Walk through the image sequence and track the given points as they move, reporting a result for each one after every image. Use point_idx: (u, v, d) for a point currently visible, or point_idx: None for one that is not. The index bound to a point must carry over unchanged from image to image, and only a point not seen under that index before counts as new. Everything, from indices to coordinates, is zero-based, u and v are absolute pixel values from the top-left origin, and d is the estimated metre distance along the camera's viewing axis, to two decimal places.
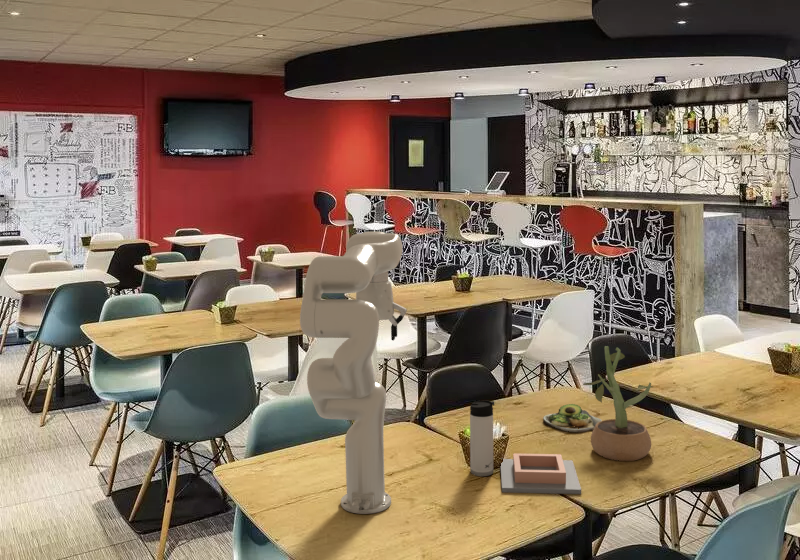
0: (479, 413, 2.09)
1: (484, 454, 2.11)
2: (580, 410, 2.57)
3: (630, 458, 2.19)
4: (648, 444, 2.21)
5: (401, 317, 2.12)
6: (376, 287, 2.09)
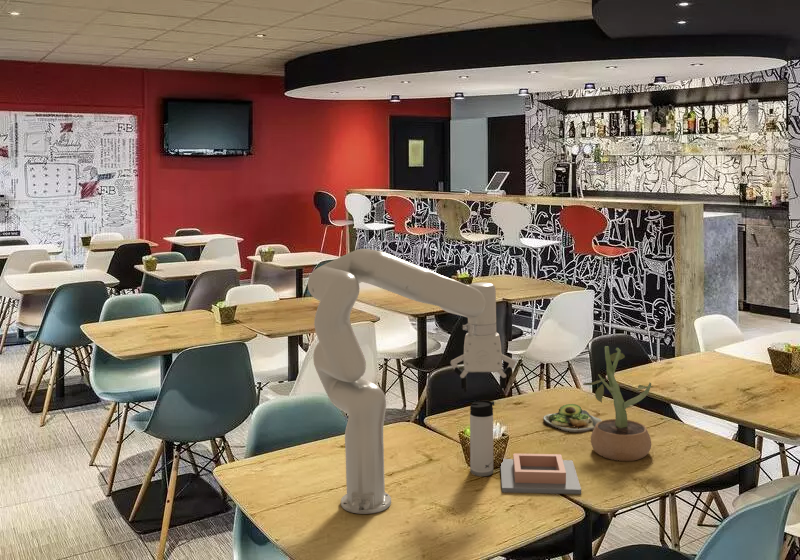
0: (479, 413, 2.09)
1: (484, 454, 2.11)
2: (580, 410, 2.57)
3: (630, 458, 2.19)
4: (648, 444, 2.21)
5: (510, 369, 2.09)
6: (485, 339, 2.06)
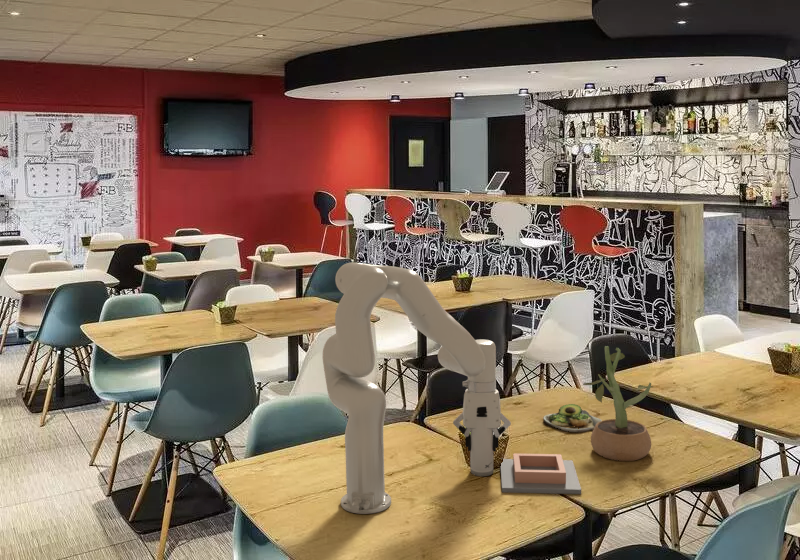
0: (479, 413, 2.09)
1: (484, 454, 2.11)
2: (580, 410, 2.57)
3: (630, 458, 2.19)
4: (648, 444, 2.21)
5: (503, 428, 2.11)
6: (484, 396, 2.09)
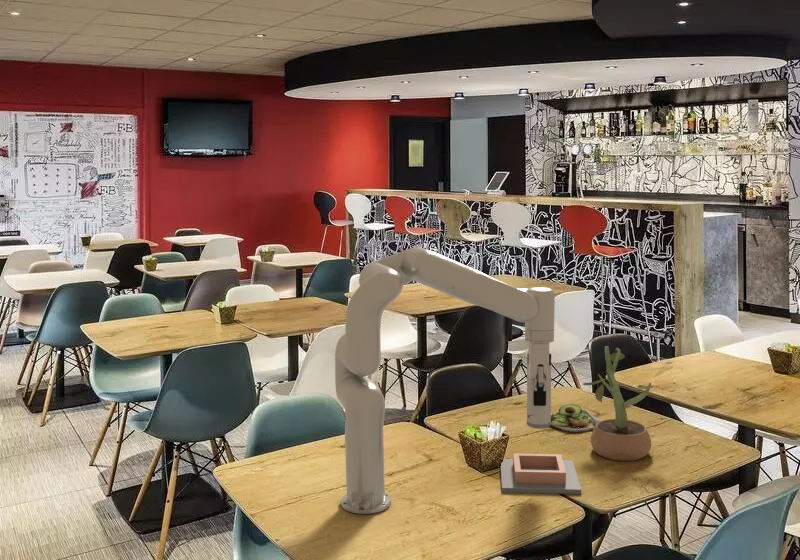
0: (527, 359, 2.06)
1: (527, 403, 2.06)
2: (580, 410, 2.57)
3: (630, 458, 2.19)
4: (648, 444, 2.21)
5: (537, 384, 2.00)
6: (529, 343, 2.04)
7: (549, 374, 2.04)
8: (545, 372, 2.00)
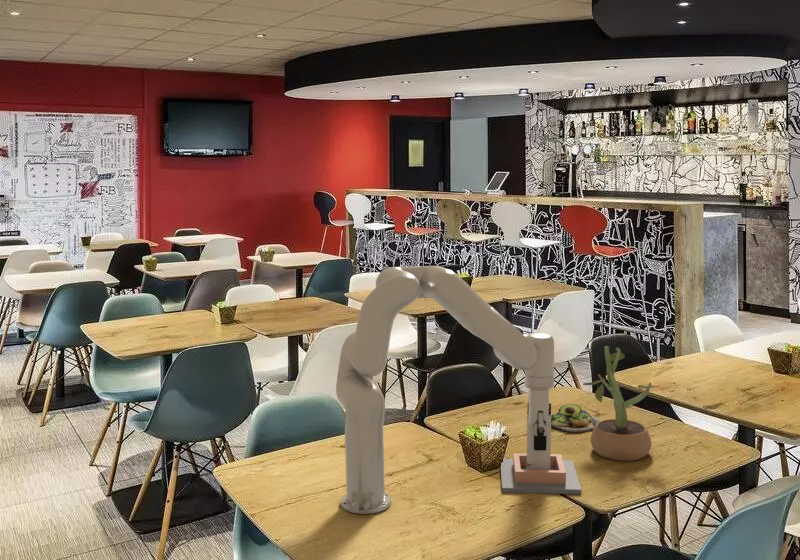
0: (527, 408, 2.08)
1: (527, 451, 2.08)
2: (580, 410, 2.57)
3: (630, 458, 2.19)
4: (648, 444, 2.21)
5: (537, 430, 2.01)
6: (529, 389, 2.06)
7: (549, 424, 2.06)
8: (545, 416, 2.02)
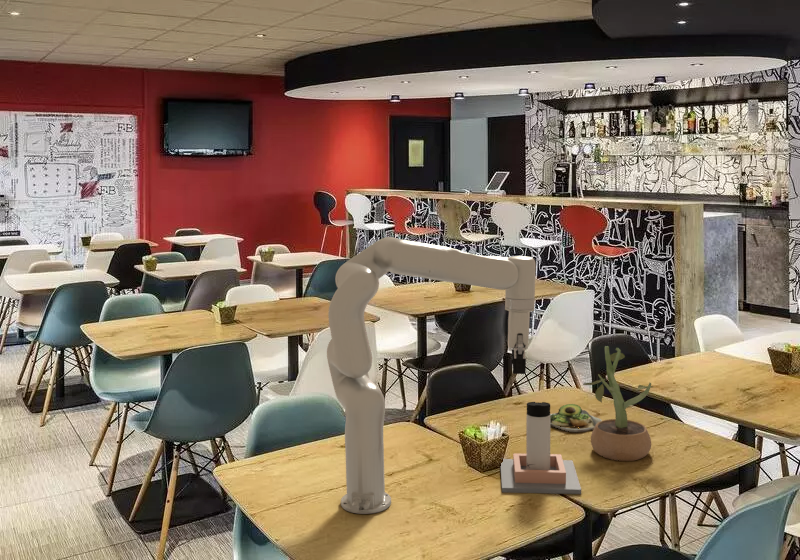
0: None
1: (527, 452, 2.08)
2: (580, 410, 2.57)
3: (630, 458, 2.19)
4: (648, 444, 2.21)
5: (516, 351, 1.97)
6: (509, 313, 2.02)
7: (548, 424, 2.05)
8: (524, 338, 1.98)
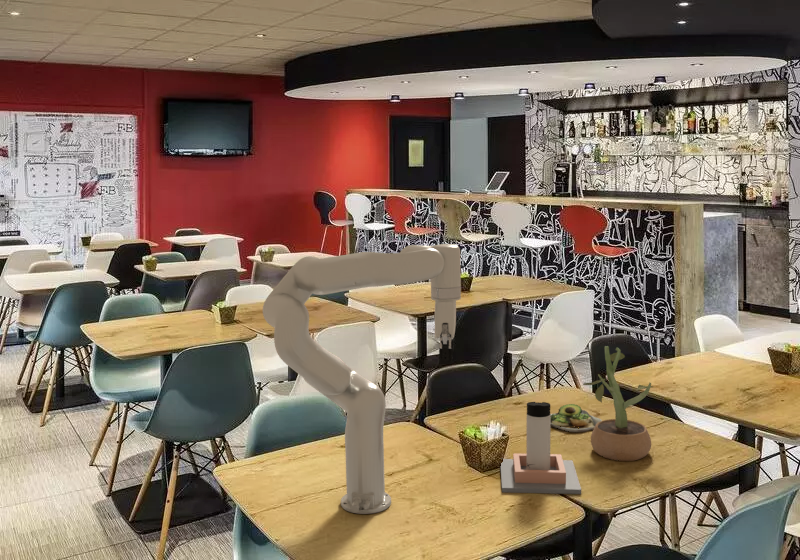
0: None
1: (527, 452, 2.08)
2: (580, 410, 2.57)
3: (630, 458, 2.19)
4: (648, 444, 2.21)
5: (441, 341, 1.93)
6: None
7: (548, 424, 2.05)
8: (450, 327, 1.94)
